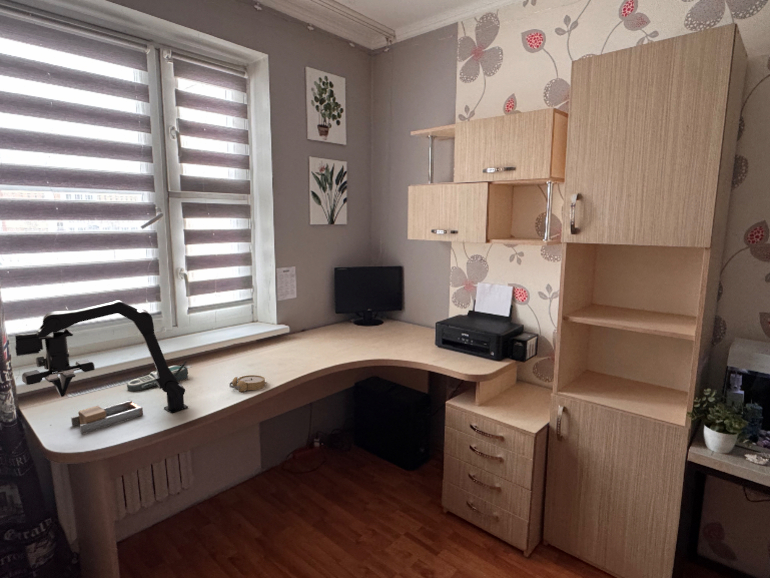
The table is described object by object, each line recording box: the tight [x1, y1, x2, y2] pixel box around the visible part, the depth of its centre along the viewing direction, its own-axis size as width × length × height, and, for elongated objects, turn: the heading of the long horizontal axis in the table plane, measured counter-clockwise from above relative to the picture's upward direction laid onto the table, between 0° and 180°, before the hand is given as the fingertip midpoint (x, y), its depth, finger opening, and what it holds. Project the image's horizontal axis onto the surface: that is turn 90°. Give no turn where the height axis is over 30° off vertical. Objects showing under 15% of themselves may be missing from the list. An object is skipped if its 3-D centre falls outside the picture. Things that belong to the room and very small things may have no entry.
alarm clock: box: [228, 374, 268, 393], centre depth 193 cm, size 11×5×15 cm
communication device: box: [126, 360, 189, 392], centre depth 198 cm, size 12×24×9 cm, turn 136°
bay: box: [70, 399, 144, 435], centre depth 162 cm, size 10×20×3 cm, turn 140°
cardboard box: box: [77, 405, 107, 426], centre depth 158 cm, size 7×6×5 cm
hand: (62, 396), depth 150 cm, fingers closed
